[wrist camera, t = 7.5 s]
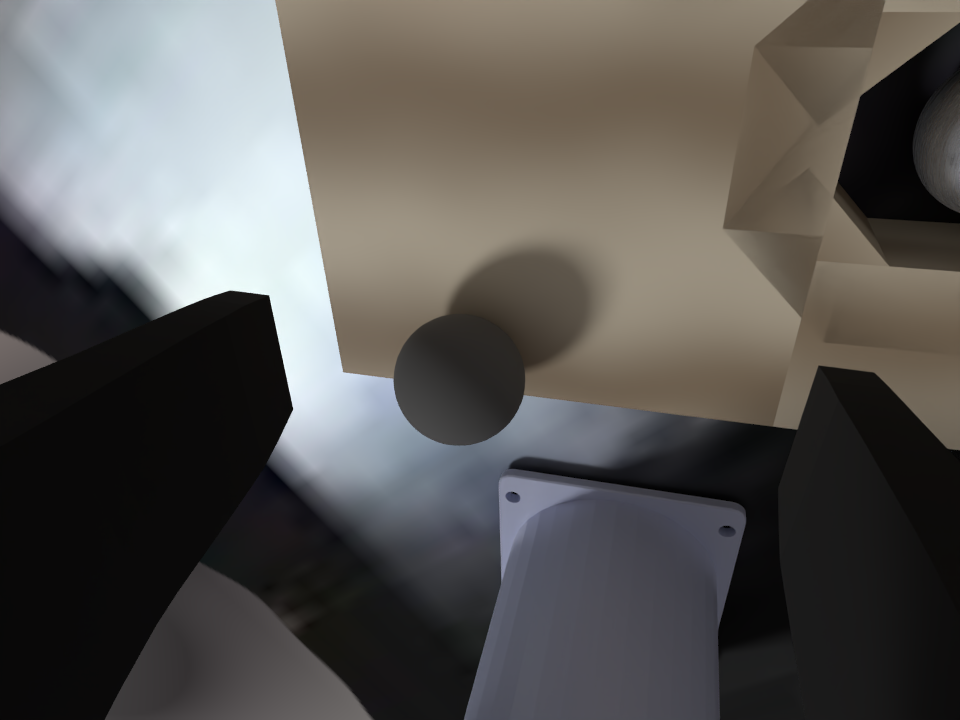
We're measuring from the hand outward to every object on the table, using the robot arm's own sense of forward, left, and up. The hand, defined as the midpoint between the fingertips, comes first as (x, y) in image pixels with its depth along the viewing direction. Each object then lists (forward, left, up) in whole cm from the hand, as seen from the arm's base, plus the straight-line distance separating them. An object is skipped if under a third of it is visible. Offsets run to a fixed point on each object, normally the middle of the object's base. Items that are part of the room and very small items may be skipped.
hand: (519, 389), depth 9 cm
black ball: (-4, +3, -6) cm, 8 cm away
